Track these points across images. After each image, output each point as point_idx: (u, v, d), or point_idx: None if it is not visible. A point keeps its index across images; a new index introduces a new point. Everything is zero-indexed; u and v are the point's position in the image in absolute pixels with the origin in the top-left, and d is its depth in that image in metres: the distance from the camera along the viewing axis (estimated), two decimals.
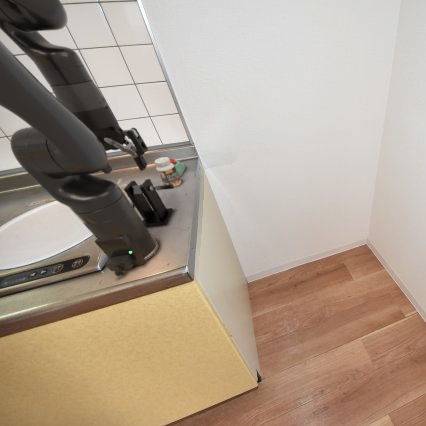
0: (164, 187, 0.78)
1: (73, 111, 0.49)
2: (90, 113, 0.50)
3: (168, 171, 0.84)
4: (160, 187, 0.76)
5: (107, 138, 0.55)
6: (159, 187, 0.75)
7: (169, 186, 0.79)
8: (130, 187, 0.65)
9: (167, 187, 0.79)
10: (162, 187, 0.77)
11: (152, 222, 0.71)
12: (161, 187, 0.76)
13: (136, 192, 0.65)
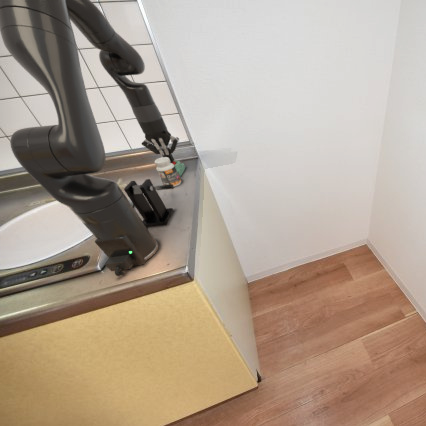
0: (164, 187, 0.78)
1: (143, 121, 0.80)
2: (153, 123, 0.81)
3: (168, 171, 0.84)
4: (160, 187, 0.76)
5: (161, 139, 0.86)
6: (159, 187, 0.75)
7: (169, 186, 0.79)
8: (130, 187, 0.65)
9: (167, 187, 0.79)
10: (162, 187, 0.77)
11: (152, 222, 0.71)
12: (161, 187, 0.76)
13: (136, 192, 0.65)
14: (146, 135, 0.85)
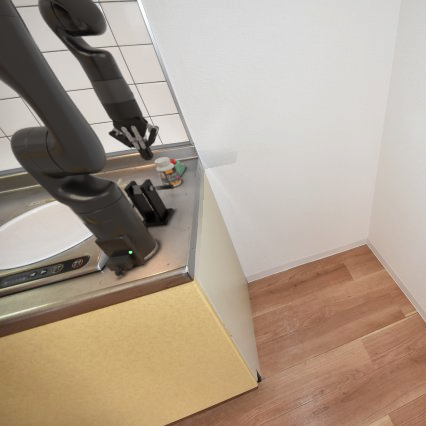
0: (164, 187, 0.78)
1: (108, 102, 0.59)
2: (121, 104, 0.60)
3: (168, 171, 0.84)
4: (160, 187, 0.76)
5: (134, 127, 0.65)
6: (159, 187, 0.75)
7: (169, 186, 0.79)
8: (130, 187, 0.65)
9: (167, 187, 0.79)
10: (162, 187, 0.77)
11: (152, 222, 0.71)
12: (161, 187, 0.76)
13: (136, 192, 0.65)
14: (114, 122, 0.64)
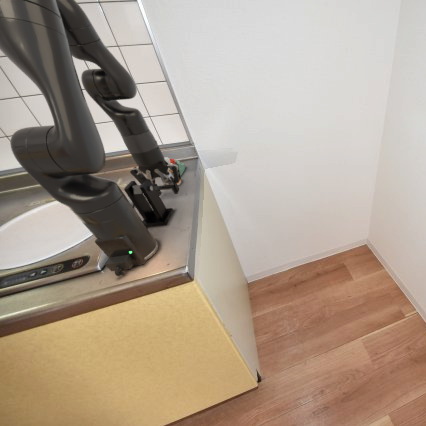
0: (164, 187, 0.78)
1: (136, 152, 0.67)
2: (147, 153, 0.69)
3: None
4: (160, 187, 0.76)
5: (157, 169, 0.73)
6: (159, 187, 0.75)
7: (169, 186, 0.79)
8: (130, 187, 0.65)
9: (167, 187, 0.79)
10: (162, 187, 0.77)
11: (152, 222, 0.71)
12: (161, 187, 0.76)
13: (136, 192, 0.65)
14: (140, 166, 0.73)
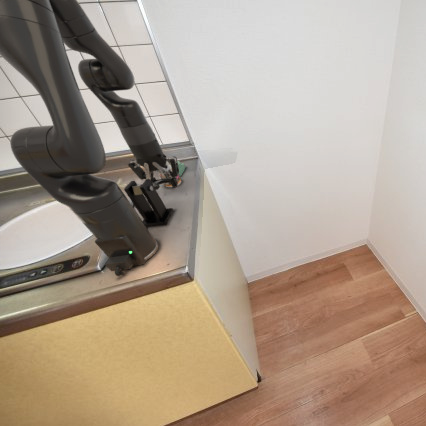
0: (163, 181, 0.78)
1: (134, 144, 0.67)
2: (145, 145, 0.68)
3: None
4: (159, 182, 0.75)
5: (155, 162, 0.73)
6: (158, 183, 0.75)
7: (168, 180, 0.78)
8: (130, 187, 0.65)
9: (166, 181, 0.78)
10: (161, 182, 0.77)
11: (152, 222, 0.71)
12: (160, 182, 0.76)
13: (136, 193, 0.65)
14: (137, 159, 0.72)
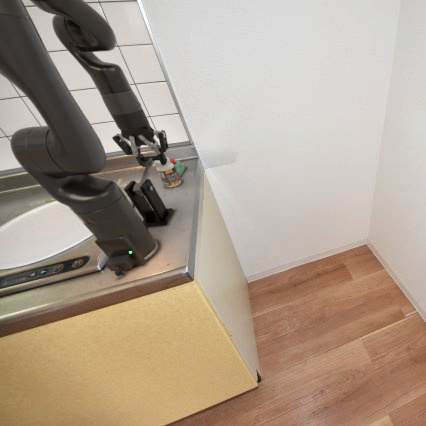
0: (153, 161, 0.73)
1: (117, 114, 0.62)
2: (130, 115, 0.63)
3: (168, 171, 0.84)
4: (150, 166, 0.72)
5: (141, 136, 0.68)
6: (150, 167, 0.72)
7: (157, 159, 0.74)
8: (130, 187, 0.65)
9: (155, 159, 0.74)
10: (151, 163, 0.73)
11: (152, 222, 0.71)
12: (151, 165, 0.72)
13: (139, 195, 0.66)
14: (122, 131, 0.67)
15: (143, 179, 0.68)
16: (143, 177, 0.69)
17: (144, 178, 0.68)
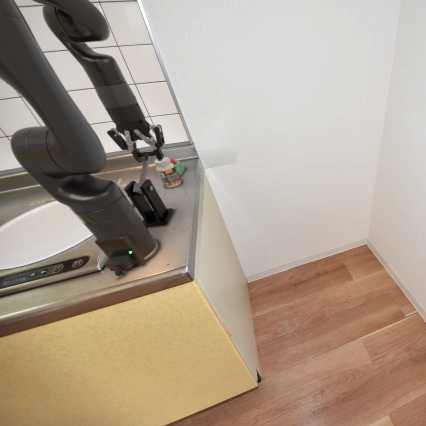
0: (149, 157, 0.72)
1: (111, 107, 0.60)
2: (124, 108, 0.61)
3: (168, 171, 0.84)
4: (148, 163, 0.71)
5: (137, 130, 0.66)
6: (147, 164, 0.70)
7: (154, 154, 0.72)
8: (130, 187, 0.65)
9: (152, 155, 0.72)
10: (148, 160, 0.71)
11: (152, 222, 0.71)
12: (148, 161, 0.71)
13: (139, 195, 0.67)
14: (117, 126, 0.65)
15: (142, 178, 0.68)
16: (142, 176, 0.68)
17: (142, 176, 0.68)
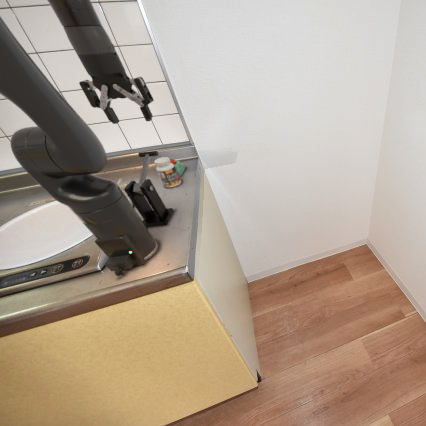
0: (149, 157, 0.72)
1: (84, 53, 0.52)
2: (100, 56, 0.54)
3: (168, 171, 0.84)
4: (148, 163, 0.71)
5: (115, 85, 0.58)
6: (147, 164, 0.71)
7: (154, 154, 0.72)
8: (130, 187, 0.65)
9: (152, 155, 0.72)
10: (149, 160, 0.71)
11: (152, 222, 0.71)
12: (148, 161, 0.71)
13: (139, 195, 0.67)
14: (94, 79, 0.58)
15: (142, 178, 0.68)
16: (142, 176, 0.68)
17: (143, 176, 0.68)
